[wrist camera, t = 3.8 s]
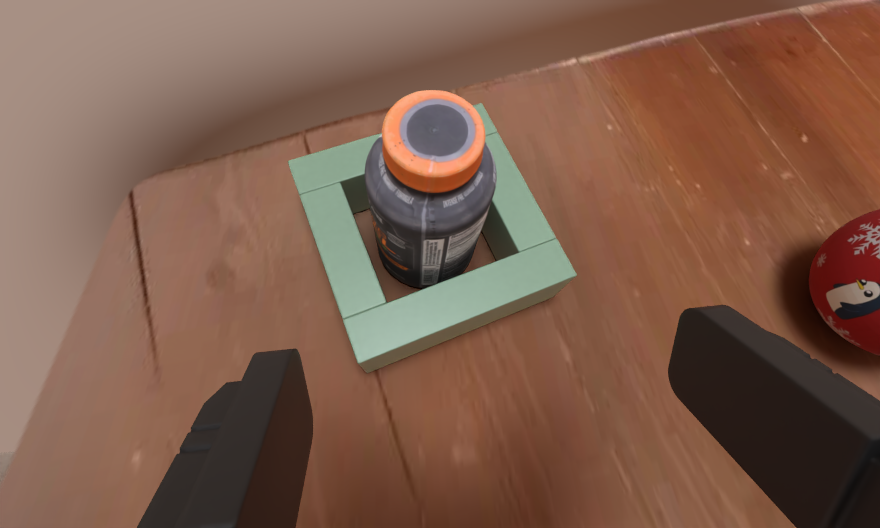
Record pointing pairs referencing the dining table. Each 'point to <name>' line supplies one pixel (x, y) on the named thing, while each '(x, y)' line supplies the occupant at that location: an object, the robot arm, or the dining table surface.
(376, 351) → the holder
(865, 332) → the christmas ornament
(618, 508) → the dining table surface
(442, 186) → the pill bottle
